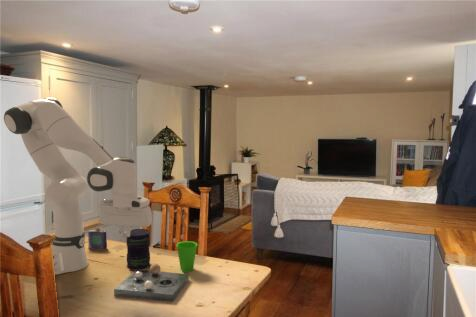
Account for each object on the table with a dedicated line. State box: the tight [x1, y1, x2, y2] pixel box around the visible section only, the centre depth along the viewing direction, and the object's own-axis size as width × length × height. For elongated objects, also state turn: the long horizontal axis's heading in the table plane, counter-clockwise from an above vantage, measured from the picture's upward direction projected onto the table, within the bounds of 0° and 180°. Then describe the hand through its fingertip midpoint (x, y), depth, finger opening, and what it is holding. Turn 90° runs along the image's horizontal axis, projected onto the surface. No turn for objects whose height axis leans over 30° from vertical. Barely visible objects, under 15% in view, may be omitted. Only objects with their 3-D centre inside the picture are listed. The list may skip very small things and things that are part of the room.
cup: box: [175, 240, 199, 273], centre depth 155 cm, size 9×9×11 cm
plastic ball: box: [144, 281, 153, 289], centre depth 131 cm, size 3×3×3 cm
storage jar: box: [125, 228, 151, 271], centre depth 158 cm, size 10×10×15 cm
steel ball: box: [134, 271, 143, 280], centre depth 139 cm, size 3×3×3 cm
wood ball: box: [149, 263, 161, 274], centre depth 144 cm, size 4×4×4 cm
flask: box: [87, 226, 108, 251], centre depth 180 cm, size 9×3×11 cm, turn 84°
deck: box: [113, 269, 190, 303], centre depth 138 cm, size 22×18×2 cm
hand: (125, 236), depth 138 cm, fingers closed
